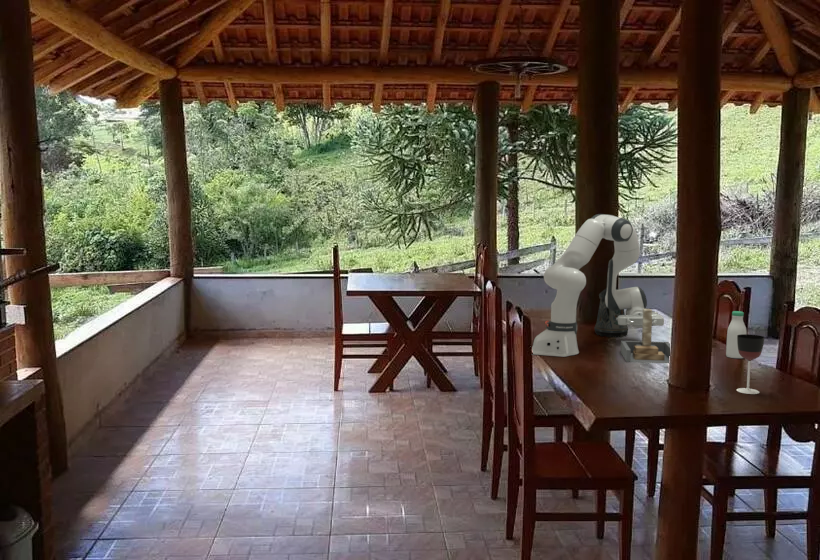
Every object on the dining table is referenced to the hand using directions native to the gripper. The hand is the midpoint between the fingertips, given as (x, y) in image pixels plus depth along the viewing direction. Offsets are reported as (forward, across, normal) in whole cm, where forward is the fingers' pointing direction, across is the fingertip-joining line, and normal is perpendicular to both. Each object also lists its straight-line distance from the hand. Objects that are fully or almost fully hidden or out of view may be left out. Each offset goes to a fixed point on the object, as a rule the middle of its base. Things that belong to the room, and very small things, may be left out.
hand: (642, 323), depth 311 cm
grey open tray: (+17, 0, +13) cm, 22 cm away
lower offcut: (+18, 0, +12) cm, 22 cm away
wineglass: (+59, +28, +13) cm, 67 cm away
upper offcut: (+18, -1, +9) cm, 21 cm away
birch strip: (+12, 0, +12) cm, 17 cm away
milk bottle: (+3, +39, +14) cm, 41 cm away
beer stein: (-39, -9, +14) cm, 42 cm away
